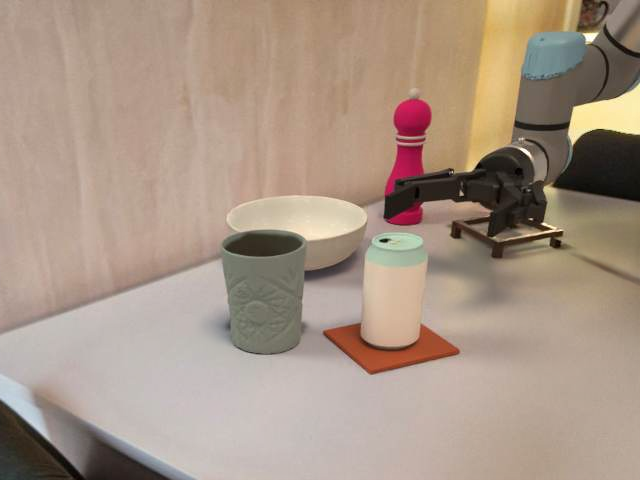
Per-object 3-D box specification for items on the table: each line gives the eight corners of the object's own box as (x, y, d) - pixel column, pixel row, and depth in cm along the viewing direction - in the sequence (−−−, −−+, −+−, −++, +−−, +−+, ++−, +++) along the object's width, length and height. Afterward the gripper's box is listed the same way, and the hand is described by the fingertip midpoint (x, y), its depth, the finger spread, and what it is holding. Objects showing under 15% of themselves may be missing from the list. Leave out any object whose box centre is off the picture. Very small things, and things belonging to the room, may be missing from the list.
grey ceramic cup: (253, 364, 90) (250, 263, 82) (210, 335, 96) (203, 239, 89) (322, 341, 94) (325, 243, 86) (276, 315, 101) (274, 222, 93)
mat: (459, 353, 90) (460, 349, 90) (370, 374, 87) (370, 370, 86) (405, 316, 99) (406, 312, 99) (323, 334, 96) (323, 330, 95)
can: (362, 352, 90) (368, 251, 83) (358, 327, 96) (363, 230, 88) (422, 352, 90) (434, 250, 82) (414, 326, 95) (425, 229, 88)
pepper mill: (403, 229, 127) (415, 94, 115) (373, 219, 132) (382, 88, 119) (434, 220, 130) (448, 87, 118) (403, 210, 135) (414, 82, 123)
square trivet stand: (560, 246, 118) (563, 230, 116) (495, 259, 114) (498, 242, 113) (511, 225, 127) (514, 209, 125) (450, 236, 123) (452, 220, 122)
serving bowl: (215, 284, 110) (212, 236, 106) (242, 237, 126) (241, 193, 122) (360, 290, 107) (362, 240, 102) (369, 240, 123) (372, 196, 119)
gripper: (428, 136, 108) (348, 169, 95) (609, 156, 95) (546, 198, 82) (422, 192, 112) (346, 231, 99) (594, 218, 100) (533, 266, 87)
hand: (437, 216), depth 91 cm, fingers open, 13 cm apart
